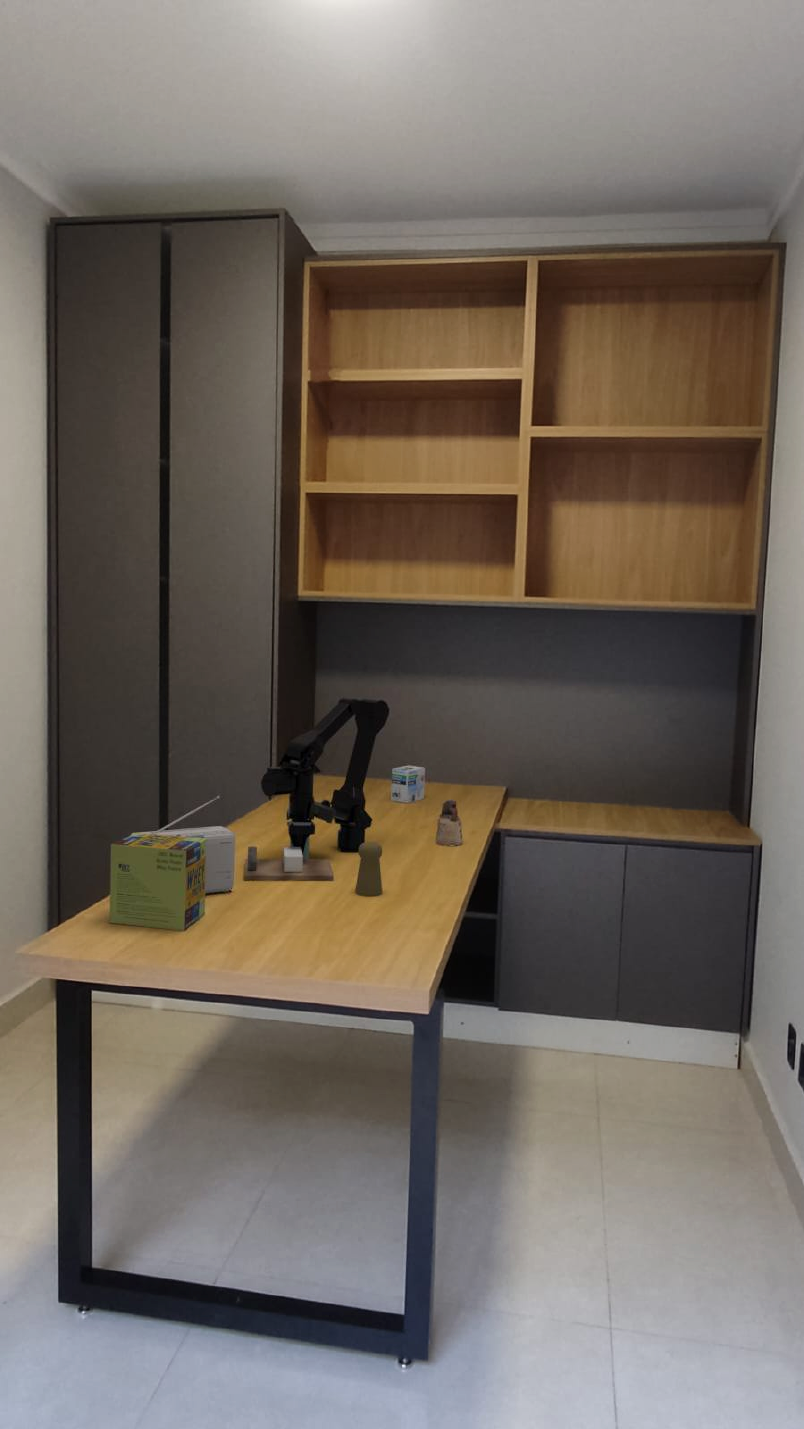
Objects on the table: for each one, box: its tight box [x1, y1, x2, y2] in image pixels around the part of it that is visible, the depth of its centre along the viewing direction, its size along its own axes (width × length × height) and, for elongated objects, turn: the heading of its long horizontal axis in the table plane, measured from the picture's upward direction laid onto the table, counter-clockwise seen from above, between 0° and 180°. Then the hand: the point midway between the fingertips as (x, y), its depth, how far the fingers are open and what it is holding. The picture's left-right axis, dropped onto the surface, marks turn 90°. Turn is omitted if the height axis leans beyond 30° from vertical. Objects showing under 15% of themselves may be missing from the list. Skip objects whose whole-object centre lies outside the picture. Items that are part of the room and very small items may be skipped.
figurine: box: [435, 799, 463, 846], centre depth 254 cm, size 7×7×12 cm
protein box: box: [109, 832, 206, 932], centre depth 182 cm, size 10×15×16 cm
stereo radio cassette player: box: [130, 795, 236, 894], centre depth 199 cm, size 21×8×20 cm, turn 121°
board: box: [243, 846, 335, 882], centre depth 219 cm, size 20×14×5 cm
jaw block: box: [289, 836, 310, 859], centre depth 231 cm, size 4×4×6 cm
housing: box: [282, 846, 303, 872], centre depth 219 cm, size 4×9×4 cm, turn 9°
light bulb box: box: [390, 764, 426, 804], centre depth 312 cm, size 11×7×11 cm, turn 147°
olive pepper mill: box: [354, 841, 383, 898], centre depth 206 cm, size 6×6×11 cm
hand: (299, 855), depth 231 cm, fingers closed on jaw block, 4 cm apart
